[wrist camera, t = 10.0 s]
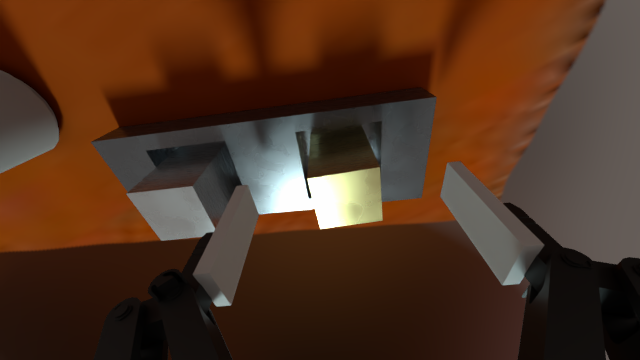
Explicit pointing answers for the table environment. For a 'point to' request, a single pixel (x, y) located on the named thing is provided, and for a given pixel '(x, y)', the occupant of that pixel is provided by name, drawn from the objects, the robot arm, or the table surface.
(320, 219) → the brass block
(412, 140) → the grey flat rectangular board
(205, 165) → the silver metal block
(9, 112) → the can
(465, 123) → the table surface
